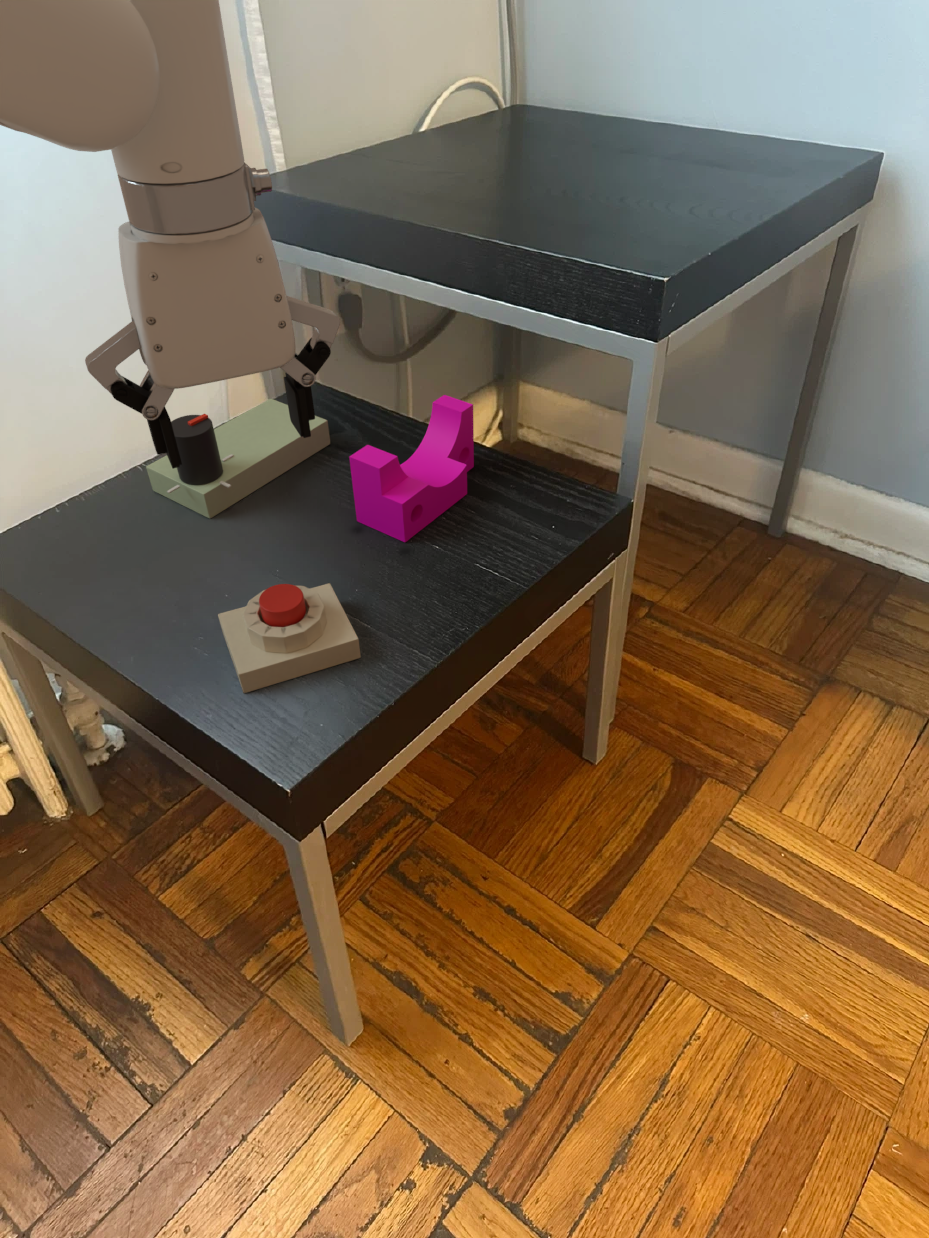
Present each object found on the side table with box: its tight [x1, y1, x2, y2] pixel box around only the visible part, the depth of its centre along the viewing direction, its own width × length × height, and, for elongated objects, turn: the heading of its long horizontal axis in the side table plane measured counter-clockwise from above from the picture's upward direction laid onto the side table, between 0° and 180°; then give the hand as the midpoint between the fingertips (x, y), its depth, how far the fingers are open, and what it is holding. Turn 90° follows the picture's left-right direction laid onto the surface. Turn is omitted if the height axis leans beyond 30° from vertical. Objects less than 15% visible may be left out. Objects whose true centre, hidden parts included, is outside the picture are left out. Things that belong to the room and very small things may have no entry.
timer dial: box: [171, 413, 223, 485], centre depth 88 cm, size 4×4×6 cm
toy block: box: [348, 394, 475, 543], centre depth 89 cm, size 15×6×8 cm, turn 144°
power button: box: [259, 583, 306, 627], centre depth 72 cm, size 4×4×2 cm
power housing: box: [217, 582, 362, 694], centre depth 74 cm, size 10×8×4 cm
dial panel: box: [145, 398, 331, 519], centre depth 95 cm, size 20×10×3 cm, turn 144°
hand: (238, 443), depth 66 cm, fingers open, 9 cm apart
